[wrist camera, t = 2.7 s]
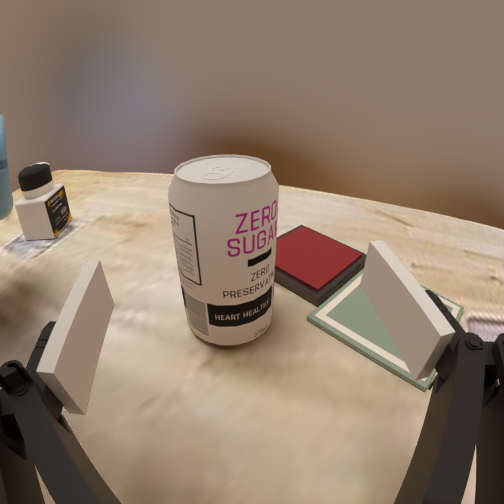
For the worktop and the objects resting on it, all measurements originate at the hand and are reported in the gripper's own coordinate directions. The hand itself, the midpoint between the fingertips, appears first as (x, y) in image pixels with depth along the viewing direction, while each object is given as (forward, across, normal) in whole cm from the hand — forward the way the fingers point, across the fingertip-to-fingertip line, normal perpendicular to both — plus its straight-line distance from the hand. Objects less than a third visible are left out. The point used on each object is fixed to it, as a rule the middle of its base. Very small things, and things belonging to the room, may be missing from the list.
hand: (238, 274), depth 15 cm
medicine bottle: (+33, -31, -12) cm, 47 cm away
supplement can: (+10, 0, -13) cm, 17 cm away
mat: (+8, +16, -13) cm, 22 cm away
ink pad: (+18, +10, -13) cm, 24 cm away
